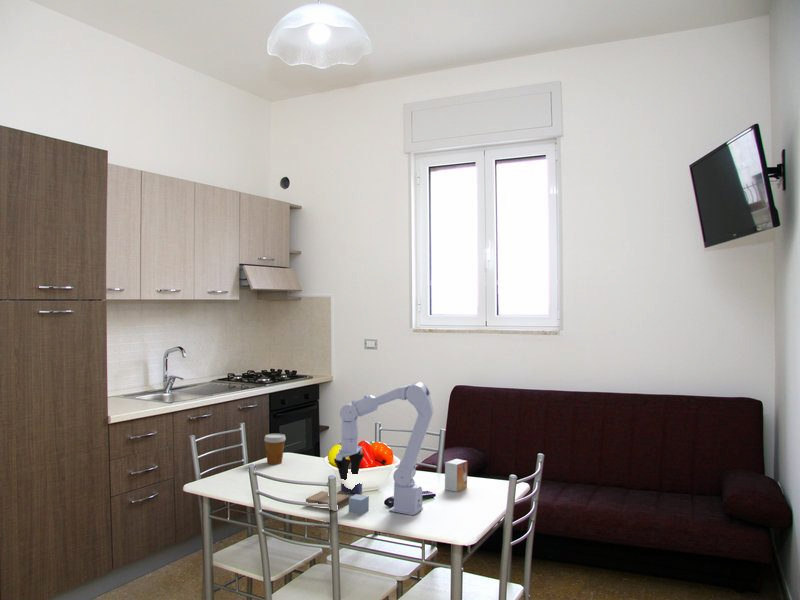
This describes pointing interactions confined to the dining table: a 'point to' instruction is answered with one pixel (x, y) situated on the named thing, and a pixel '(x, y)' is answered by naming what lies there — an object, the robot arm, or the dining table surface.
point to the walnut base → (324, 499)
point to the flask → (355, 490)
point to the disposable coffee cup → (274, 448)
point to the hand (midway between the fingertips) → (349, 476)
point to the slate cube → (358, 504)
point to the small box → (456, 475)
